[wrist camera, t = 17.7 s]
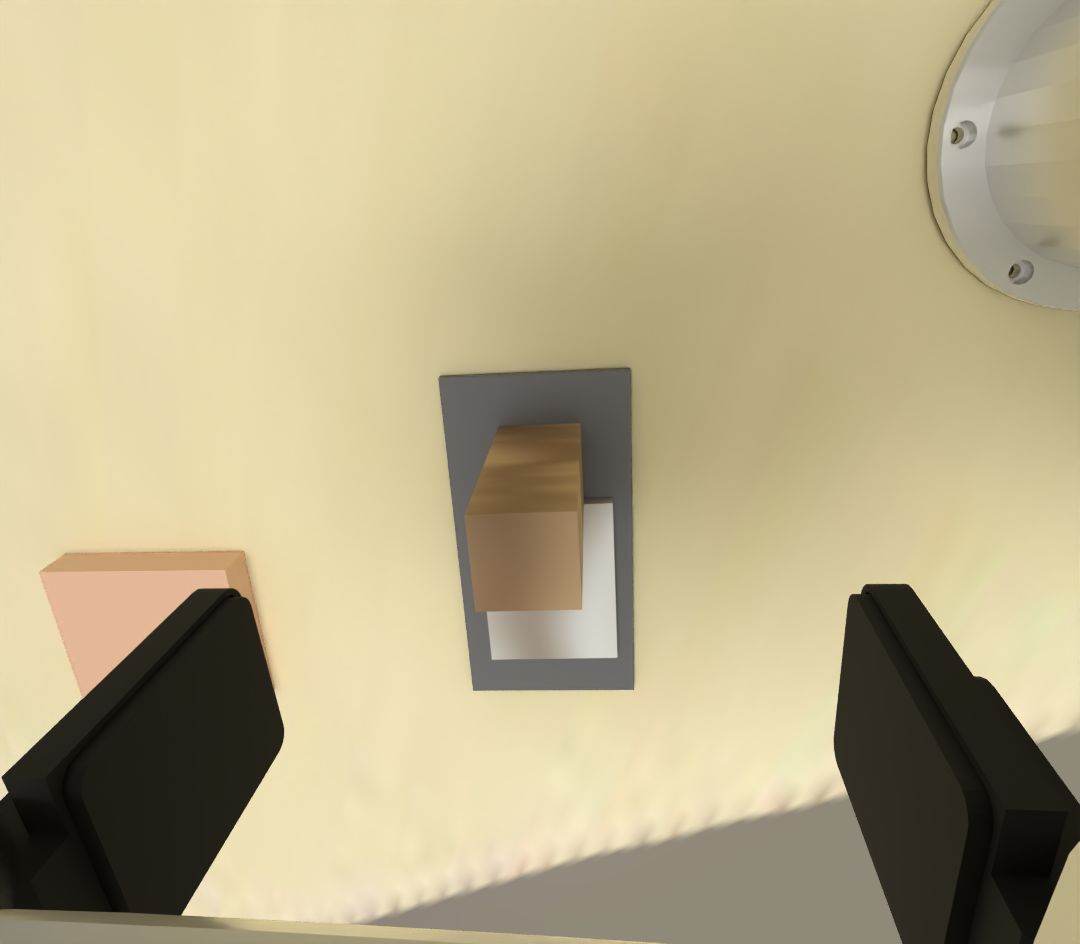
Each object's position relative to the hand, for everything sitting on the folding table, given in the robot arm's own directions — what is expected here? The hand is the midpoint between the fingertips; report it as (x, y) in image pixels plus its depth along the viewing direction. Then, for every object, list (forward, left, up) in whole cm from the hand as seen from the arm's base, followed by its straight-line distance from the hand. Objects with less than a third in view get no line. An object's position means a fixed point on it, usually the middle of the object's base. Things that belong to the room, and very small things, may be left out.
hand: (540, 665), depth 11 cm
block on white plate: (+1, +8, -20) cm, 21 cm away
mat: (+2, +8, -20) cm, 22 cm away
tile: (+20, +8, -19) cm, 29 cm away
